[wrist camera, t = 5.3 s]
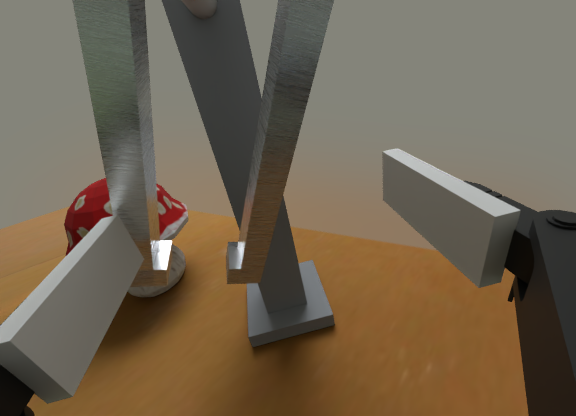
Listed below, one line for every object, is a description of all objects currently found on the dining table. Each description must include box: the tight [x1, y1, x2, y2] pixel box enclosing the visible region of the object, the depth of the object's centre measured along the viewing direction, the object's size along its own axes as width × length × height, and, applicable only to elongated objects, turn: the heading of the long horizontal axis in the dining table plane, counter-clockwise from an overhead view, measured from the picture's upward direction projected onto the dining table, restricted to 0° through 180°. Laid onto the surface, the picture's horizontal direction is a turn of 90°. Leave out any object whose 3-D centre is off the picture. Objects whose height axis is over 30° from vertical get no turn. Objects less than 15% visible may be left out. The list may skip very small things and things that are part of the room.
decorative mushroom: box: [64, 178, 188, 297], centre depth 32 cm, size 14×14×15 cm
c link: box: [73, 0, 334, 287], centre depth 13 cm, size 8×2×18 cm, turn 105°
